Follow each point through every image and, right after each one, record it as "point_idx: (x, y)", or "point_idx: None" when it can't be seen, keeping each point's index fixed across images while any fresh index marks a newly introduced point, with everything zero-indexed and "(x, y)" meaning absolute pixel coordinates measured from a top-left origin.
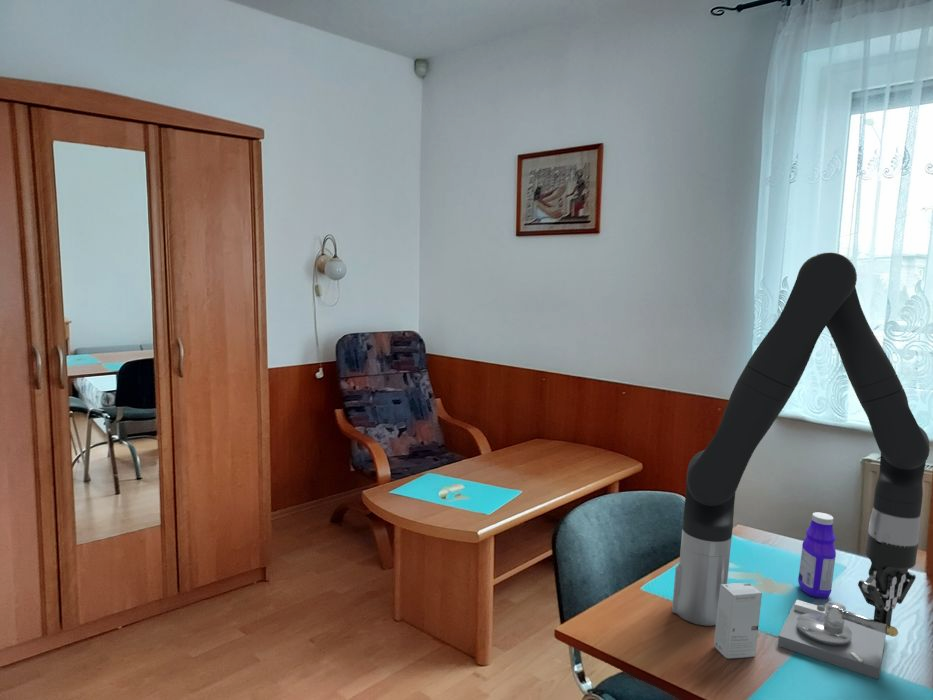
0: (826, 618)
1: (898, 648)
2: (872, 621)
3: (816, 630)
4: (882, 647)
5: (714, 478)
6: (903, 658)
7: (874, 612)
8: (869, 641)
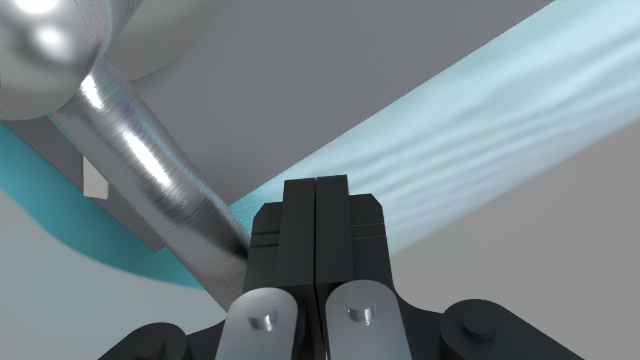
0: None
1: (537, 53)
2: (189, 268)
3: None
4: (343, 128)
5: None
6: (458, 129)
7: (247, 266)
8: (326, 58)
